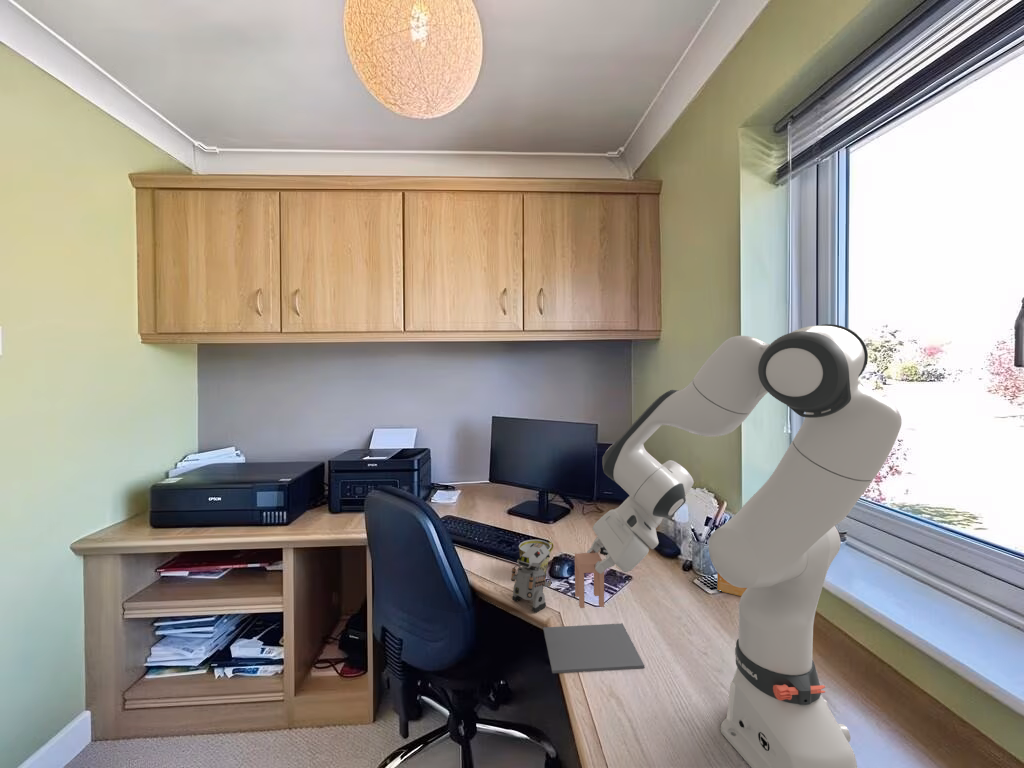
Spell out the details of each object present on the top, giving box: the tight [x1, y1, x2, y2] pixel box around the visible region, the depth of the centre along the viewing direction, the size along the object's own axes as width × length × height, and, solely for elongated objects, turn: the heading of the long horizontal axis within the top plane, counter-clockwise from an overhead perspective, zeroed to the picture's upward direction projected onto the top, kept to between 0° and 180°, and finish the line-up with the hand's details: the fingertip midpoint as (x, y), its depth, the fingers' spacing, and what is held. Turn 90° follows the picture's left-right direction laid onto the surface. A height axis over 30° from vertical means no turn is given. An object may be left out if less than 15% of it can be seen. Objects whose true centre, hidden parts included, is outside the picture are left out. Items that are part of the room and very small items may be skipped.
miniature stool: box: [574, 552, 605, 609], centre depth 98 cm, size 6×6×10 cm
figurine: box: [510, 543, 552, 614], centre depth 118 cm, size 9×12×15 cm
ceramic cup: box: [518, 539, 554, 574], centre depth 132 cm, size 13×10×10 cm
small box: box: [716, 572, 747, 597], centre depth 122 cm, size 8×6×13 cm
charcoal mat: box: [542, 623, 645, 674], centre depth 98 cm, size 15×20×1 cm
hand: (592, 563), depth 97 cm, fingers closed on miniature stool, 5 cm apart
